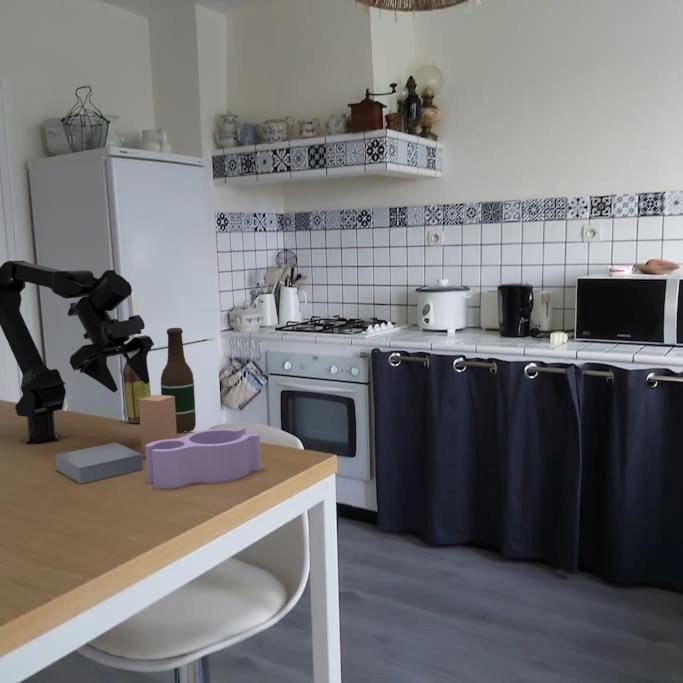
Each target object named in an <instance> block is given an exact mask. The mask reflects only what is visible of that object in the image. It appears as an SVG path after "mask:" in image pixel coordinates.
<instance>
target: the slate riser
mask: <svg viewBox="0 0 683 683" xmlns="http://www.w3.org/2000/svg"><path fill="white" fill-rule="evenodd" d="M55 464H56V466H55V467H56V471H58V472H60V473H62V474H63V475H65V476H67V477H68V478H69V479H71V480H73V481H75V482H77V483H78V484H80V485H82V484H86V483H90V482H94V481H99V480H103V479H108V478H112V477H116V476H121V475H124V474H130V473H133V472H137V471H141V470H142V471H143V469H144V468H143V464H144V463H143V457H142V453H140V452H137V450H133V449H131V448H129V447H127V446H125V445H122V444H120V443H118V442H111V443H106V444H102V445H96V446H92V447H88V448H82V449H77V450H73V451H66V452H63V453H58V454H57V453H56V454H55Z"/></svg>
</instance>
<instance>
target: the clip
mask: <svg viewBox="0 0 683 683" xmlns="http://www.w3.org/2000/svg"><path fill="white" fill-rule="evenodd" d="M260 438H261V437H260V434H259V433H246V427H243V426H239V427H237V428H211V429H204V430H198V431H194V432H191V433H187V434H186V435H183V436H181V437H177V438H176V439H166V440H159V441H155V442H151V443H149V444H147V445H146V446H145V447H146V458H145V459H146V460H145V461H146V462H145V463H146V476H147V480H146V481H147V483H148V484H153V489H157V490H158V489H159V490H169V489H177V488H181V487H185V486H188V485H193V484H199V483H201V484H202V483H204V484H205V483H206V484H209V483H211V484H213V483H225V482H231V481H235V480H238V479H241V478H243V477H247V476H248V475H249V474H250V473H251V472H258V471H259V470H260V471H261V470H262V466H261V465H262V464H261V441H260V440H261V439H260ZM250 471H251V472H250ZM260 471H259V472H260Z"/></svg>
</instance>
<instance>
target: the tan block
mask: <svg viewBox="0 0 683 683" xmlns="http://www.w3.org/2000/svg"><path fill="white" fill-rule="evenodd" d="M139 410H140V423H139V425H140V440H141V454H142V458H145V457H146V447H145V446H146V445H147V444H149V443H151V442H155V441H159V440H166V439H176V438H178V435H177V434H178V433H177V430H176V411H175V396H166V395H160V394H153V395H152V394H151V396H149V397H145V398H142V399H139Z"/></svg>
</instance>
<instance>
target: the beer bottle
mask: <svg viewBox="0 0 683 683" xmlns="http://www.w3.org/2000/svg"><path fill="white" fill-rule="evenodd" d="M182 334H183V329H182V327H181V328H180V327H170V328H168V329H166V335H167V362H166V365H165V366H164V368H163V370H162V372H161V377H160V393H161V395H166V396H175V411H176V430H177V434H179V433H178V432H184V431H189V432H191V431H194V430H195V428H196V426H197V425H196V424H197V423H196V420H197V419H196V418H197V417H196V415H197V414H196V396H195V380H194V375H193V374H194V373H193V371H192V369H191V367H190V366H189V365H188V363H187V362H186V358H185V352H184V344H183V335H182ZM184 433H186V432H184ZM184 433H183V434H184Z"/></svg>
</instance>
